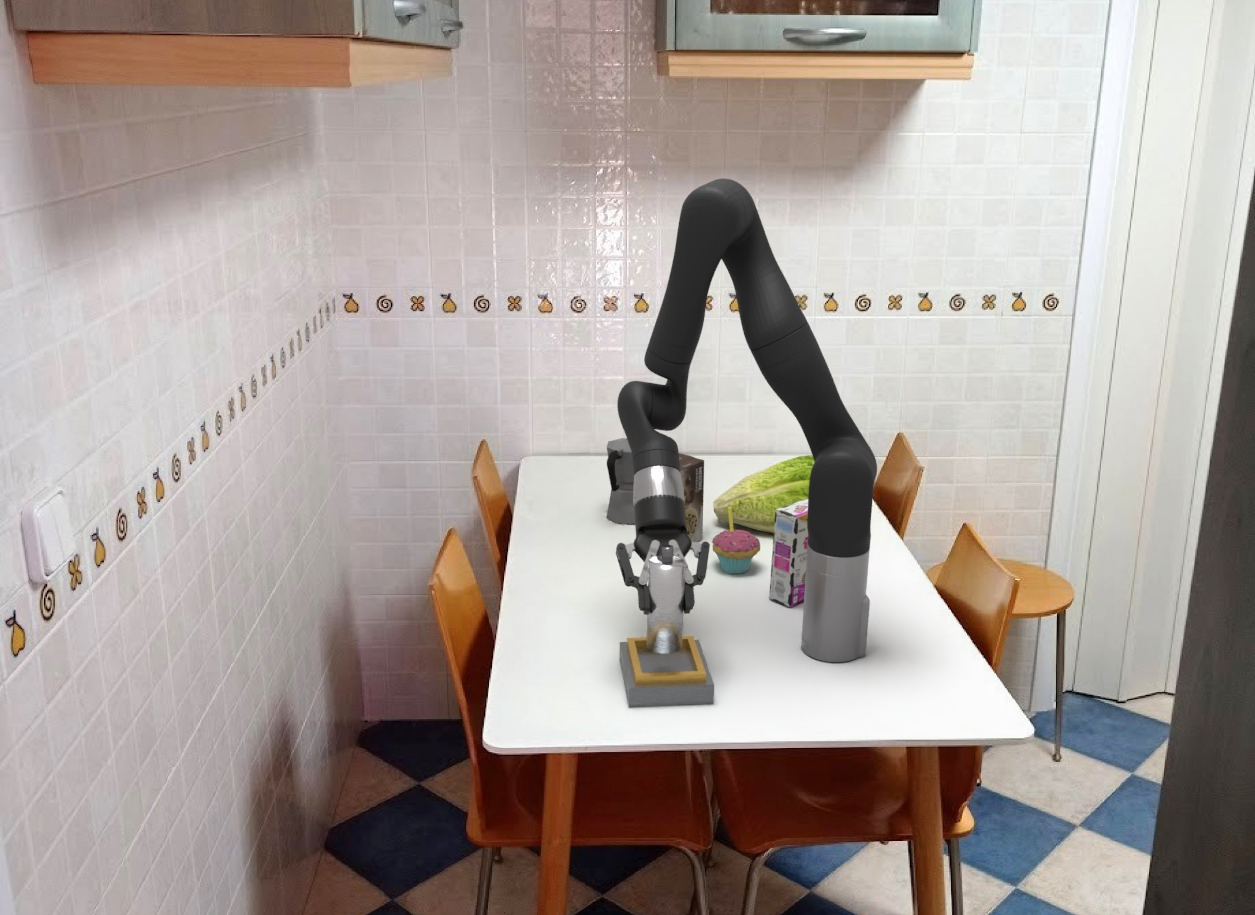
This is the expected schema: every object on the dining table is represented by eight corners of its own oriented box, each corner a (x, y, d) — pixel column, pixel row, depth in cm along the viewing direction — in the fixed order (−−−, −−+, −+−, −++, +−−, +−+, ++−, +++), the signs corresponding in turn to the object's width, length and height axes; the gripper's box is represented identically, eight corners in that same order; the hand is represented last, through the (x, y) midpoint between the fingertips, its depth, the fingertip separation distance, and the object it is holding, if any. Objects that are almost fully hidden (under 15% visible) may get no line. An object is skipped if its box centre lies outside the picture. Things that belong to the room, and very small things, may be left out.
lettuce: (725, 564, 229) (731, 543, 245) (849, 529, 224) (848, 510, 240) (701, 492, 228) (709, 475, 243) (826, 454, 223) (826, 440, 238)
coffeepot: (622, 502, 247) (623, 418, 241) (664, 510, 243) (666, 425, 237) (586, 526, 234) (587, 438, 228) (630, 535, 230) (631, 445, 224)
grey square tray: (697, 657, 183) (698, 632, 182) (713, 703, 170) (714, 677, 169) (619, 660, 182) (619, 635, 181) (628, 707, 169) (629, 680, 167)
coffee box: (676, 531, 232) (678, 451, 227) (703, 539, 228) (706, 459, 223) (646, 545, 226) (648, 463, 220) (674, 553, 222) (676, 470, 217)
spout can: (679, 636, 177) (683, 539, 172) (684, 653, 172) (688, 553, 167) (644, 637, 176) (647, 540, 171) (648, 654, 172) (651, 554, 167)
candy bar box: (791, 609, 200) (797, 517, 195) (768, 600, 203) (772, 509, 198) (832, 590, 207) (838, 500, 202) (808, 581, 211) (814, 493, 205)
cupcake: (701, 568, 215) (703, 505, 212) (731, 555, 221) (733, 494, 218) (739, 582, 210) (742, 518, 206) (768, 568, 216) (772, 505, 212)
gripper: (612, 493, 174) (619, 604, 166) (710, 491, 175) (721, 602, 168) (609, 514, 181) (615, 622, 173) (703, 512, 182) (713, 619, 175)
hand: (667, 611), depth 171 cm, fingers closed on spout can, 5 cm apart
